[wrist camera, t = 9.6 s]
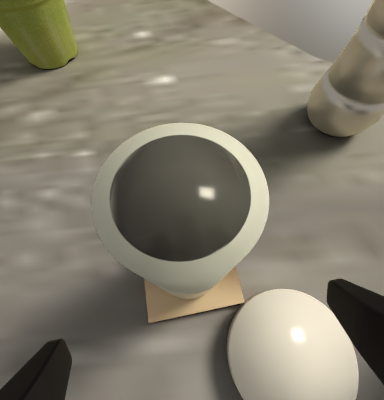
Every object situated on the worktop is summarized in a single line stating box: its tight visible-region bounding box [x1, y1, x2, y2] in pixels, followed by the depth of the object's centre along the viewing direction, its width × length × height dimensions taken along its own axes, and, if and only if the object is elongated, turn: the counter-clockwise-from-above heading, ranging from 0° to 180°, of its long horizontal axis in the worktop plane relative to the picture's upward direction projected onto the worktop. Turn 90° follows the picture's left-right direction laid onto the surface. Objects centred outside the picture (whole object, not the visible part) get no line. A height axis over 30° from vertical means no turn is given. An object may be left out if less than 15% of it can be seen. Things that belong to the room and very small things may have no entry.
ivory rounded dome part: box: [227, 289, 359, 400], centre depth 15 cm, size 8×8×2 cm
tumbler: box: [91, 123, 269, 300], centre depth 12 cm, size 5×5×12 cm
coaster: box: [144, 267, 245, 323], centre depth 18 cm, size 7×7×1 cm
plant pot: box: [0, 0, 78, 69], centre depth 25 cm, size 9×9×9 cm
